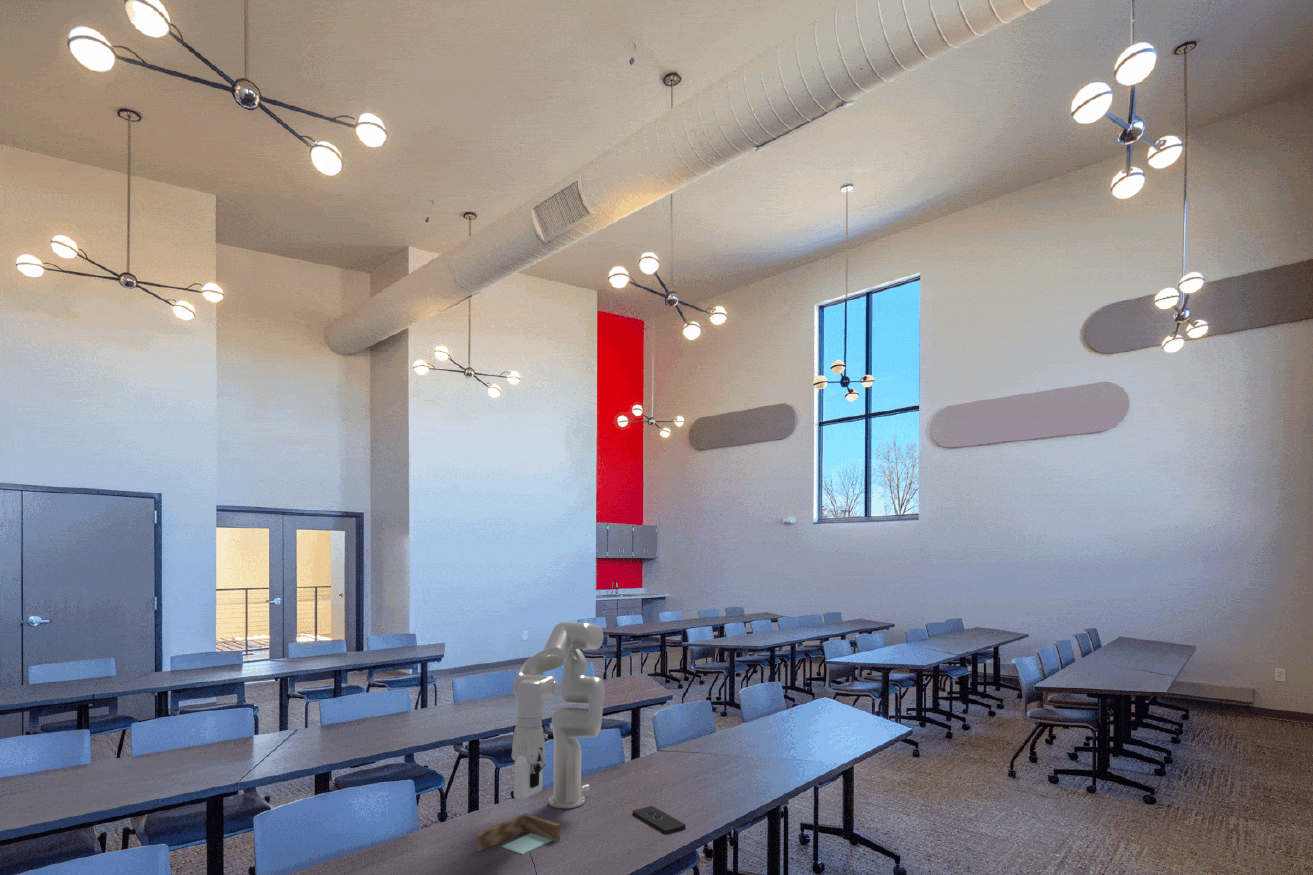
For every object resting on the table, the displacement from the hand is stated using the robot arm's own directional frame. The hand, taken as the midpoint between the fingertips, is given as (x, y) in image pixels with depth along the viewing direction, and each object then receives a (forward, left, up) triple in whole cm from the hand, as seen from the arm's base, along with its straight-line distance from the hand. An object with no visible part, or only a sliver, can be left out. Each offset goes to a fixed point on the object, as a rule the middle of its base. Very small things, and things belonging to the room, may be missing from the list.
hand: (528, 784), depth 217 cm
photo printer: (0, 0, -3) cm, 3 cm away
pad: (0, 0, -17) cm, 17 cm away
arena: (+2, -2, -17) cm, 17 cm away
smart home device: (-37, +22, -18) cm, 47 cm away
